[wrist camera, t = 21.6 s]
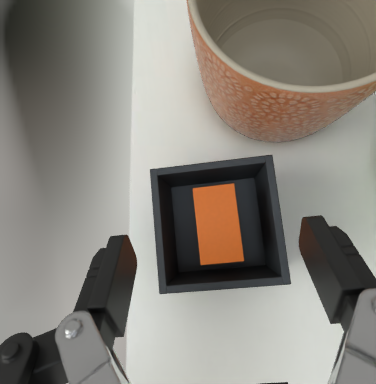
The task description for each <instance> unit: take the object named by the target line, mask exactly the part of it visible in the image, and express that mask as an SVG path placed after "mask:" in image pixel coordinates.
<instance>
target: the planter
mask: <svg viewBox="0 0 376 384" xmlns="http://www.w3.org/2000/svg"><path fill="white" fill-rule="evenodd" d="M187 6H188V13H189V20H190V26H191V31H192V37H193V42H194V47H195V52H196V57H197V61H198V66H199V70H200V74H201V77H202V81H203V84H204V87H205V90H206V93H207V95H208V97H209V99H210V102H211V104H212V106H213V107H214V109H215V111H216V112H217V114H218V115H219V116H220V117H221V119H222V120H223V121H224V122H225V123H226V124H228V125H229V126H230V127H231V128H232V129H234V130H235V131H237V132H239V133H240V134H242V135H244V136H247V137H249V138H252V139H256V140H260V141H266V142H285V141H291V140H296V139H299V138H302V137H305V136H308V135H310V134H312V133H314V132H316V131H318V130H320V129H322V128H324V127H326V126H328V125H329V124H331V123H332V122H334V121H336V120H337V119H339V118H340V117H342V116H343V115H344V114H346V113H347V112H349V111H350V110H351V109H353V108H354V107H355V106H357V105H358V104H359V103H361V102H362V101H363V100H365V99H366V98H367V97H369V96H370V95H371V94H373V93H374V92H375V91H376V0H187Z"/></svg>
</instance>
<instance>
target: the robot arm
mask: <svg viewBox="0 0 376 384" xmlns="http://www.w3.org/2000/svg"><path fill="white" fill-rule="evenodd" d="M299 248H300V252H301V255H302V257H303V260H304V262H305V265H306V267H307V269H308V272H309V274H310V276H311V279H312V281H313V283H314V286H315V288H316V290H317V293H318V295H319V297H320V300H321V302H322V304H323V307H324V309H325V311H326V314H327V316H328V318H329V321H330V323H331V324H336V323H341V326H342V328H343V330H344V333H343V336H342V339H341V343H340V346H339V349H338V352H337V356H336V359H335V362H334V365H333V369H332V372H331V375H330V378H329V381H328V384H376V278H375V277H374V275H373V274H372V272H371V271H370V269H369V268H368V266H367V265H366V263H365V261H364V260H363V258H362V257H361V255H359V252H358V251H357V249H356V248H355V246H353V243H352V241H351V240H350V238H349V237H348V235H347V234H346V233H344V232H343V231H342V230H341V229H339V228H338V227H337V226H331V227H329V226H328V224H327V222H326V221H325V219H324V218H323V216H321V215H320V216H310V217H303V218H302V223H301V229H300V236H299ZM136 269H137V258H136V254H135V252H134V249H133V247H132V244H131V242H130V239H129V237H128V235H119V236H111V237H110V238H109V241H108V244H107V247H106V248H101V249H100V250H99V251H98V252H97V253H96V255H95V256H94V257H93V259H92V262H91V265H90V269H89V270H88V273H87V278H85V281H84V284H83V287H82V290H81V292H80V295H79V298H78V301H77V303H76V306H75V309H74V311H73V313H71V314H69V315H68V316H67V317H65V318H64V319H63V320H62V321H61V323H60V324H59V326H58V327H57V328H56V329H54V330H51V331H49V332H46V333H44V334H42V335H39V336H36V337H33V338H32V337H31V336H30V335H29V334H28V333H18V334H15V335H13V336H11V337H9V338H8V339H6V340H5V341H4V342H3V343H2V344H1V345H0V384H66V383H68V382H69V384H131V382H130V380H129V378H128V376H127V374H126V372H125V370H124V368H123V366H122V364H121V362H120V360H119V358H118V356H117V354H116V352H115V350H114V348H113V345H114V340H115V337H124V332H125V327H126V322H127V317H128V311H129V306H130V301H131V296H132V290H133V285H134V280H135V275H136ZM262 384H288V382H283V383H262Z"/></svg>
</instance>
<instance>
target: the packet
mask: <svg viewBox="0 0 376 384" xmlns="http://www.w3.org/2000/svg"><path fill="white" fill-rule="evenodd" d="M193 197H194V206H195V215H196V225H197V234H198V243H199V252H200V262H201V265H208V264H219V263H229V262H240V261H244V255H243V247H242V240H241V232H240V225H239V217H238V209H237V202H236V194H235V187H234V183H232V184H224V185H216V186H207V187H199V188H193Z"/></svg>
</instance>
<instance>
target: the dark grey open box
mask: <svg viewBox="0 0 376 384" xmlns="http://www.w3.org/2000/svg"><path fill="white" fill-rule="evenodd" d="M150 176H151V189H152V202H153V215H154V228H155V241H156V254H157V267H158V280H159V293H160V294H167V293H181V292H194V291H208V290H221V289H234V288H248V287H261V286H275V285H288V284H291V280H290V273H289V267H288V260H287V253H286V246H285V239H284V232H283V225H282V219H281V212H280V205H279V198H278V191H277V184H276V177H275V171H274V164H273V157H272V155H266V156H258V157H249V158H241V159H233V160H225V161H216V162H208V163H200V164H191V165H183V166H175V167H167V168H158V169H150ZM232 183H234V187H235V194H236V202H237V209H238V217H239V225H240V232H241V240H242V247H243V255H244V261H240V262H229V263H219V264H208V265H201V262H200V252H199V243H198V234H197V225H196V215H195V206H194V197H193V188H199V187H207V186H216V185H224V184H232Z"/></svg>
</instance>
